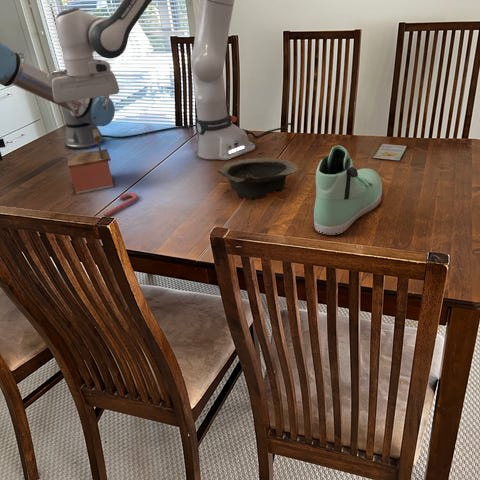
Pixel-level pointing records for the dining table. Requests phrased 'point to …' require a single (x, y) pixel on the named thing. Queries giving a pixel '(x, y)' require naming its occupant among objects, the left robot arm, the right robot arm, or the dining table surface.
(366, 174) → the sneaker
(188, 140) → the dining table surface
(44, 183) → the dining table surface
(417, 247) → the dining table surface
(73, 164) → the lid
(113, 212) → the candy cane
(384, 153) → the baking ingredient package
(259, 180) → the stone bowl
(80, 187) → the chest
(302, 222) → the dining table surface
